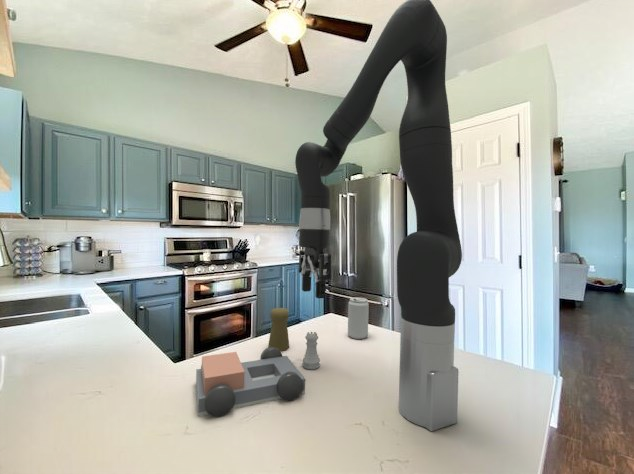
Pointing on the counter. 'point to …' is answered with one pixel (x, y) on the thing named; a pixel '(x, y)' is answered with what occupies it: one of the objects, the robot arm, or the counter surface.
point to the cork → (279, 329)
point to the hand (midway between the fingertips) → (312, 294)
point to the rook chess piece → (311, 352)
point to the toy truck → (245, 381)
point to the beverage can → (358, 318)
